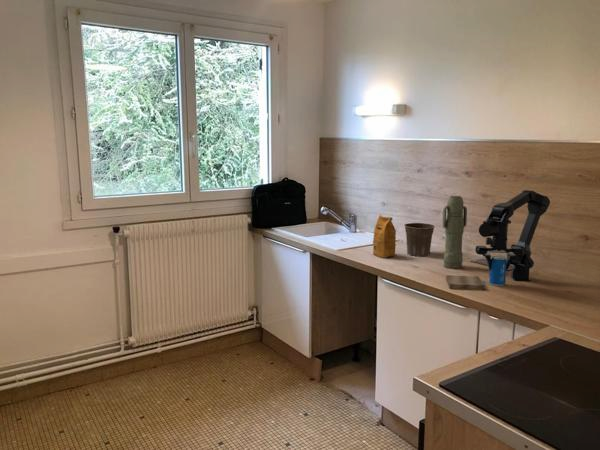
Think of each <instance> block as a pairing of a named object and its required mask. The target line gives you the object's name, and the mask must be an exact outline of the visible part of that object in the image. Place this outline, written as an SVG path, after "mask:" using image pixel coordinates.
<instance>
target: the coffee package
mask: <svg viewBox="0 0 600 450" xmlns="http://www.w3.org/2000/svg"><path fill="white" fill-rule="evenodd" d="M392 220H393V217H391V216H383V215H382V214H379V216H378V218H377V220H376V223H375V228H374V231H373V238H372V239H373V240H372V255H374V256H376V257H378V258H382V259H385V258H389V257H395V256H396V245H397V244H396V239H397V238H396V237H397V236H396V235H397V231H396V227H395V226H394V224H393V221H392Z"/></svg>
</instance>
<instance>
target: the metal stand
mask: <svg viewBox="0 0 600 450" xmlns="http://www.w3.org/2000/svg"><path fill="white" fill-rule="evenodd" d="M445 281H446V283H447V285H448V289H451V290H470V291H471V290H474V291H475V290H476V291H477V290H478V291H485V284H484V282H483V280H482V279H481V278H480V276H478V275H473V276H472V275H450V274H449V275H445Z"/></svg>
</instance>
